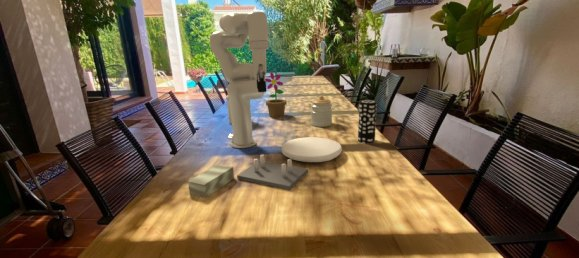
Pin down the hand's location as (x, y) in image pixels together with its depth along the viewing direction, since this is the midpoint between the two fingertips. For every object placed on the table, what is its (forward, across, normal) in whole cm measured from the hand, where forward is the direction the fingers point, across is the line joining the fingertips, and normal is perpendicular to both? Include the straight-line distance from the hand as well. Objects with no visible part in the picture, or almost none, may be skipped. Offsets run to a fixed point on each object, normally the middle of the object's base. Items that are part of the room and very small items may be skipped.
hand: (261, 90), depth 122 cm
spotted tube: (+31, -17, +51) cm, 62 cm away
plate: (+31, -4, +21) cm, 38 cm away
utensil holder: (+29, -69, -12) cm, 76 cm away
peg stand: (+31, +14, +2) cm, 34 cm away
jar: (+30, -52, +37) cm, 71 cm away
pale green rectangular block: (+31, +18, -20) cm, 42 cm away
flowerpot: (+29, -80, +12) cm, 86 cm away
